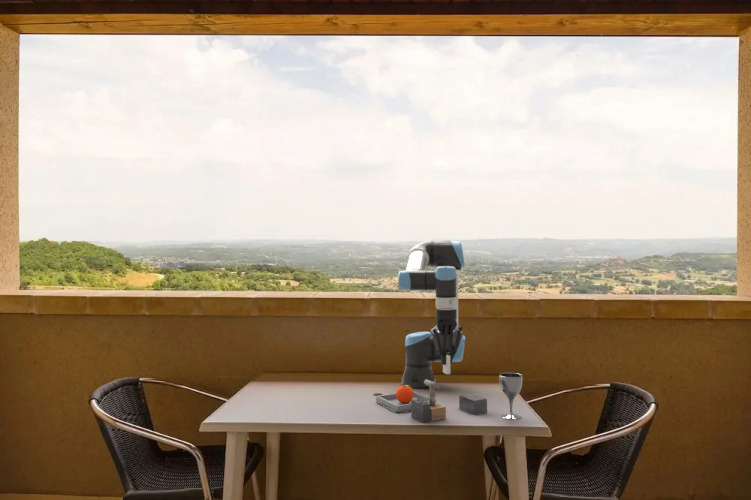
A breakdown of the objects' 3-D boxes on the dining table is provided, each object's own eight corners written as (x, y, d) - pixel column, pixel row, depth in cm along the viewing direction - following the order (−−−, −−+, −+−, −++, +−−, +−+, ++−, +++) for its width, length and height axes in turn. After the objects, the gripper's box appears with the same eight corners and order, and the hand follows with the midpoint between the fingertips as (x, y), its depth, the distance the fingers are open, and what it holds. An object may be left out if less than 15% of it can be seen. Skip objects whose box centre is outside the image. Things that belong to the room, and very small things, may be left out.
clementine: (406, 399, 217) (405, 381, 217) (419, 402, 212) (419, 384, 212) (392, 403, 211) (392, 385, 211) (405, 406, 206) (405, 388, 206)
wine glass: (496, 413, 198) (496, 372, 198) (518, 413, 199) (517, 372, 199) (503, 420, 190) (503, 377, 191) (526, 419, 191) (525, 376, 191)
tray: (376, 402, 215) (376, 396, 215) (413, 397, 223) (412, 390, 223) (397, 413, 200) (397, 406, 200) (436, 407, 208) (436, 400, 208)
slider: (419, 415, 197) (419, 380, 197) (433, 412, 200) (433, 378, 200) (431, 420, 190) (431, 384, 190) (445, 418, 192) (445, 383, 193)
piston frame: (410, 416, 196) (410, 399, 196) (472, 406, 208) (471, 390, 208) (424, 423, 188) (423, 405, 188) (487, 412, 200) (487, 396, 200)
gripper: (436, 310, 192) (437, 377, 192) (466, 308, 198) (467, 373, 198) (425, 308, 199) (426, 373, 199) (454, 306, 204) (455, 369, 205)
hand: (446, 373), depth 198 cm, fingers closed
